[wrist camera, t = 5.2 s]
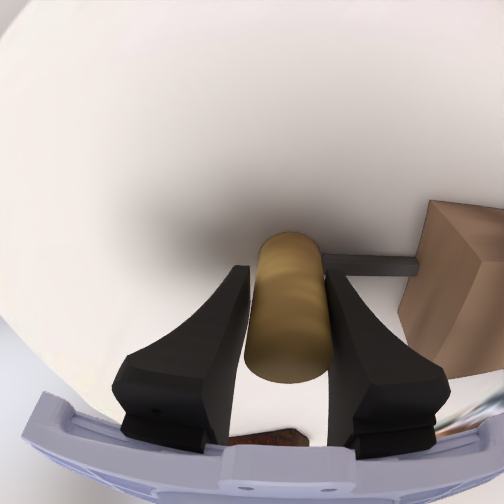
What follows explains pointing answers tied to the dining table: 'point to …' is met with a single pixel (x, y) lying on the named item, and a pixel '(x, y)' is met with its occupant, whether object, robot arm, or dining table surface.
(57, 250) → the dining table surface
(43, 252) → the dining table surface
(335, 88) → the dining table surface
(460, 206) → the wooden mallet
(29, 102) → the dining table surface
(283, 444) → the brick
